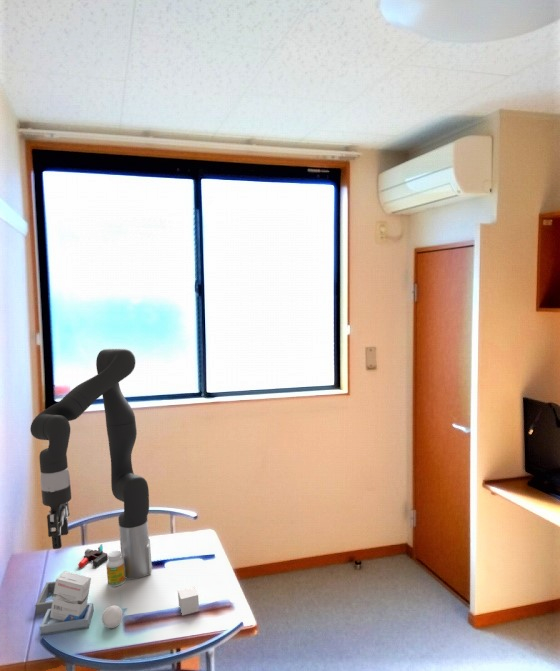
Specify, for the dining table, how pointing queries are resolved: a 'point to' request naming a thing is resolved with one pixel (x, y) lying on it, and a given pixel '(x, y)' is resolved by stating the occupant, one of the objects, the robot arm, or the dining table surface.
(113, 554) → the supplement bottle
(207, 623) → the dining table surface
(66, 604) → the ink box
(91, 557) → the toy gun
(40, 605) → the cradle
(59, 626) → the tray
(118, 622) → the white ball
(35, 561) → the dining table surface
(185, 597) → the white cube
